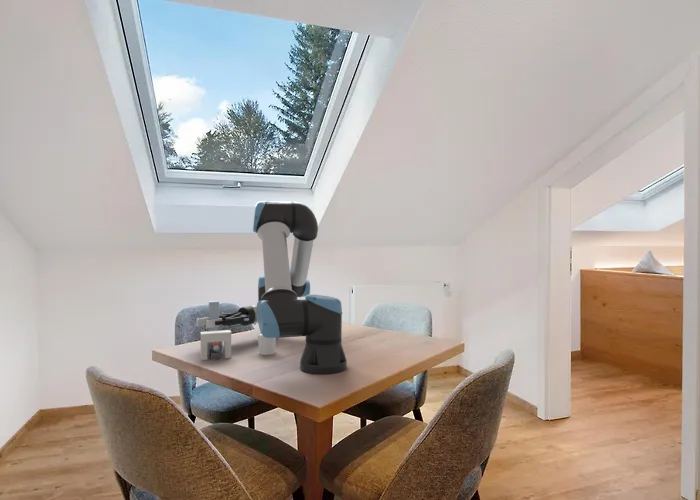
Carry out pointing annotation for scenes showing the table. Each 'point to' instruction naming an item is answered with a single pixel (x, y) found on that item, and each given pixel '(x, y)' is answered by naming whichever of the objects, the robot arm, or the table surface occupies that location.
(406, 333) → the table surface
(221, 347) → the carriage
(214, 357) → the rail
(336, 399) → the table surface
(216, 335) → the arch
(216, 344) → the plunger
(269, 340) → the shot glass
